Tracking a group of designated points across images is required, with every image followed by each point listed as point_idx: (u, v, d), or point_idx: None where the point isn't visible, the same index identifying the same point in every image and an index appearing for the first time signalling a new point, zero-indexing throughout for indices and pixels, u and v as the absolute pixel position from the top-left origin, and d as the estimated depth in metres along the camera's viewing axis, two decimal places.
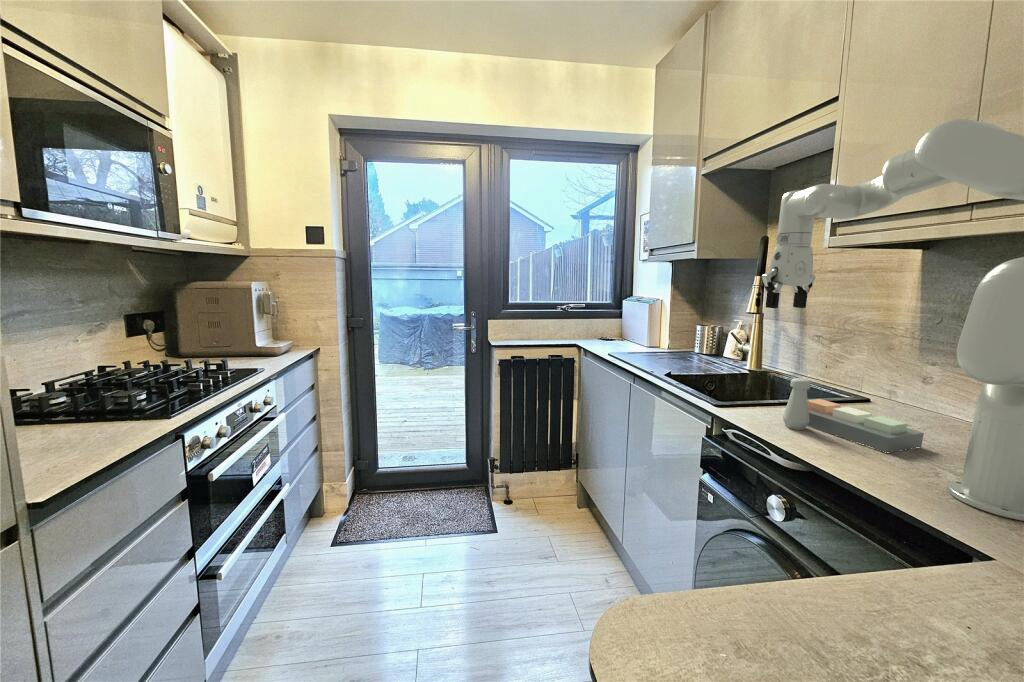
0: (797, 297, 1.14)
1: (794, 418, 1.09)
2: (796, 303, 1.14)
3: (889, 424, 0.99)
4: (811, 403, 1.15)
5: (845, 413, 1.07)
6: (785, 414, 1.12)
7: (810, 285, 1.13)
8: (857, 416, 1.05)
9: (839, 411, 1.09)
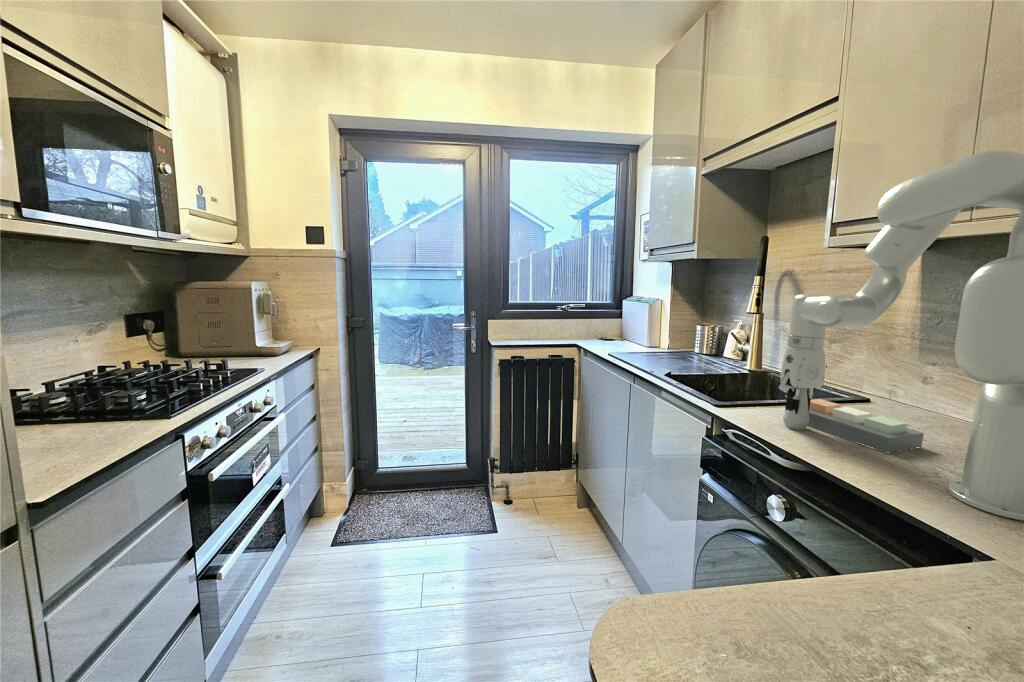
0: None
1: (794, 418, 1.09)
2: None
3: (889, 424, 0.99)
4: (811, 403, 1.15)
5: (845, 413, 1.07)
6: (785, 414, 1.12)
7: (813, 390, 1.11)
8: (857, 416, 1.05)
9: (839, 411, 1.09)
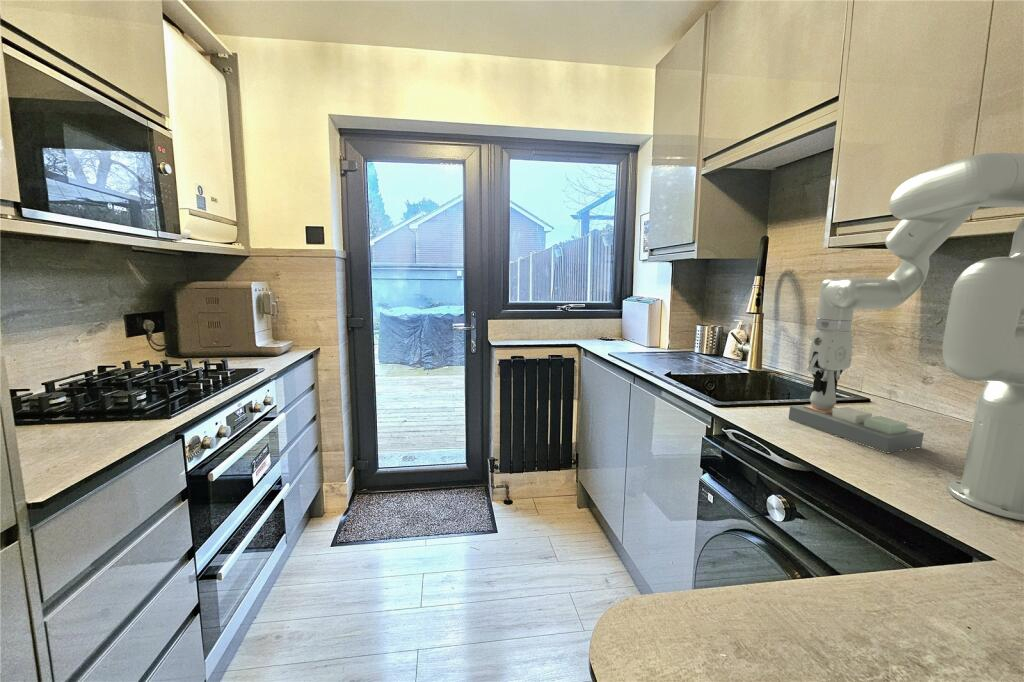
0: None
1: (821, 399, 1.13)
2: None
3: (889, 424, 0.99)
4: (810, 409, 1.16)
5: (845, 413, 1.07)
6: (812, 395, 1.15)
7: (840, 372, 1.14)
8: (857, 416, 1.05)
9: (839, 411, 1.09)
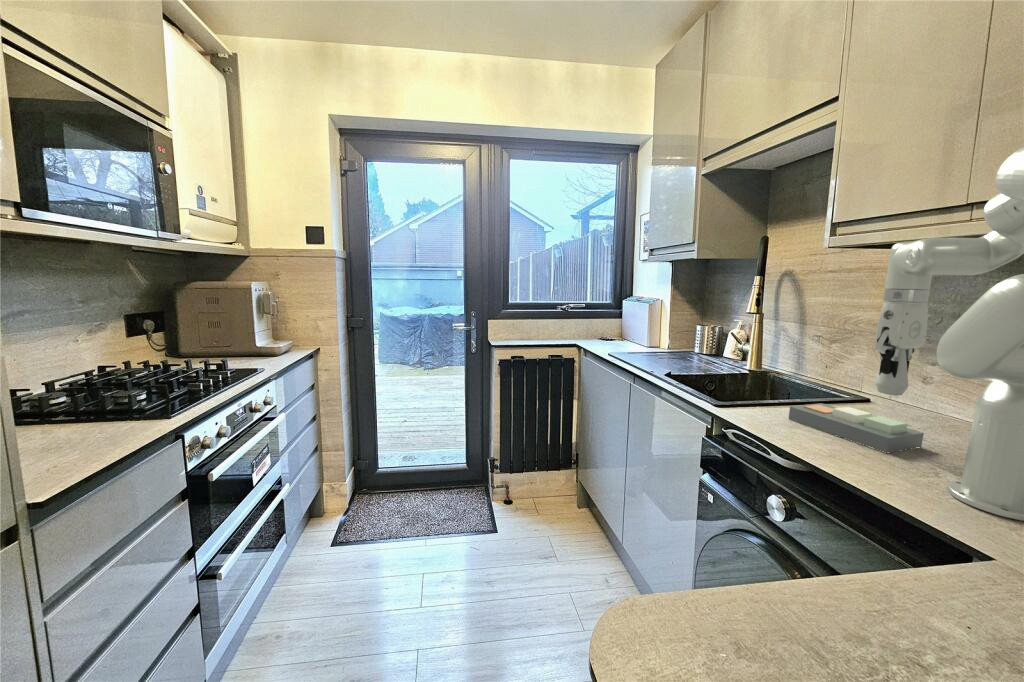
0: None
1: (891, 382, 0.98)
2: None
3: (889, 424, 0.99)
4: (810, 409, 1.16)
5: (845, 413, 1.07)
6: (879, 378, 1.00)
7: (912, 351, 0.99)
8: (857, 416, 1.05)
9: (839, 411, 1.09)
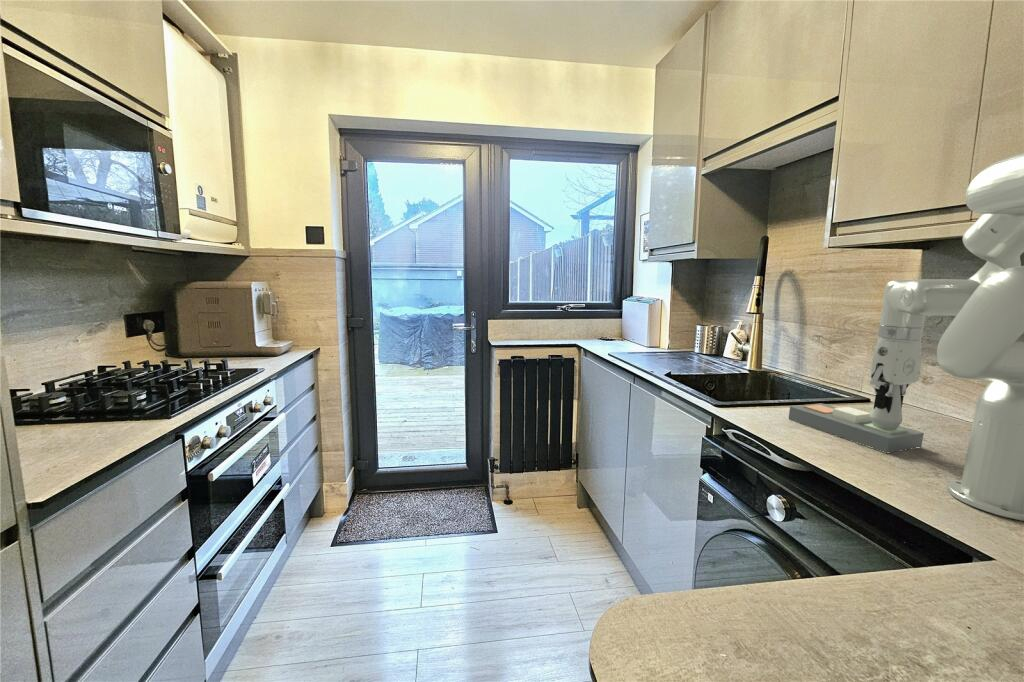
0: None
1: (885, 417, 0.99)
2: None
3: (888, 431, 0.99)
4: (810, 409, 1.16)
5: (845, 413, 1.07)
6: (873, 413, 1.01)
7: (906, 386, 1.00)
8: (857, 416, 1.05)
9: (839, 411, 1.09)
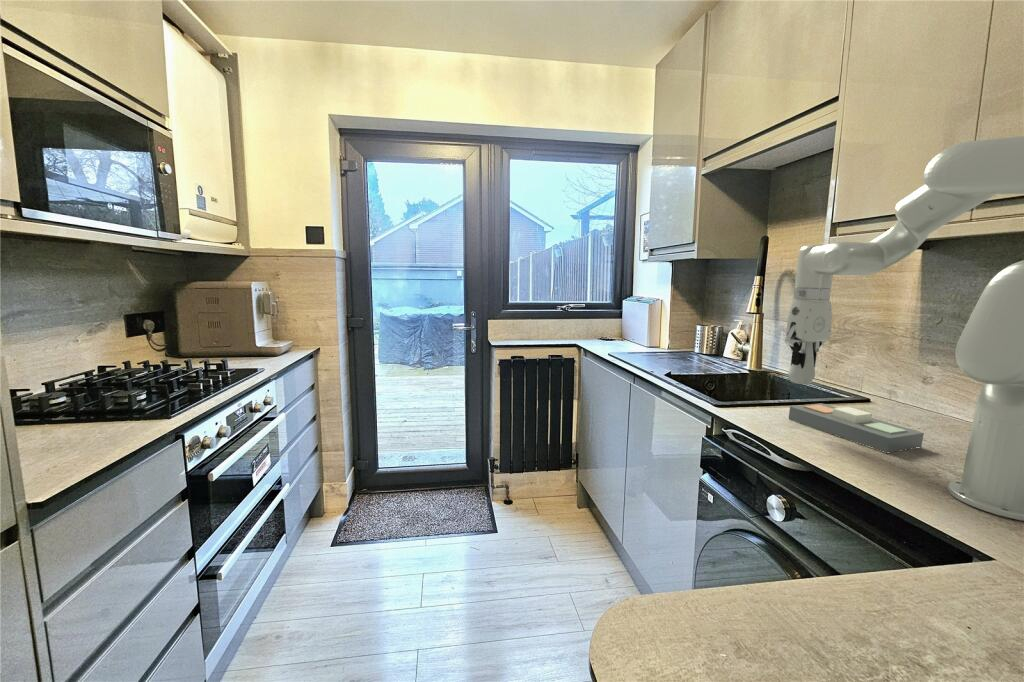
0: None
1: (799, 372, 1.08)
2: None
3: (888, 431, 0.99)
4: (810, 409, 1.16)
5: (845, 413, 1.07)
6: (790, 369, 1.10)
7: (819, 344, 1.09)
8: (857, 416, 1.05)
9: (839, 411, 1.09)
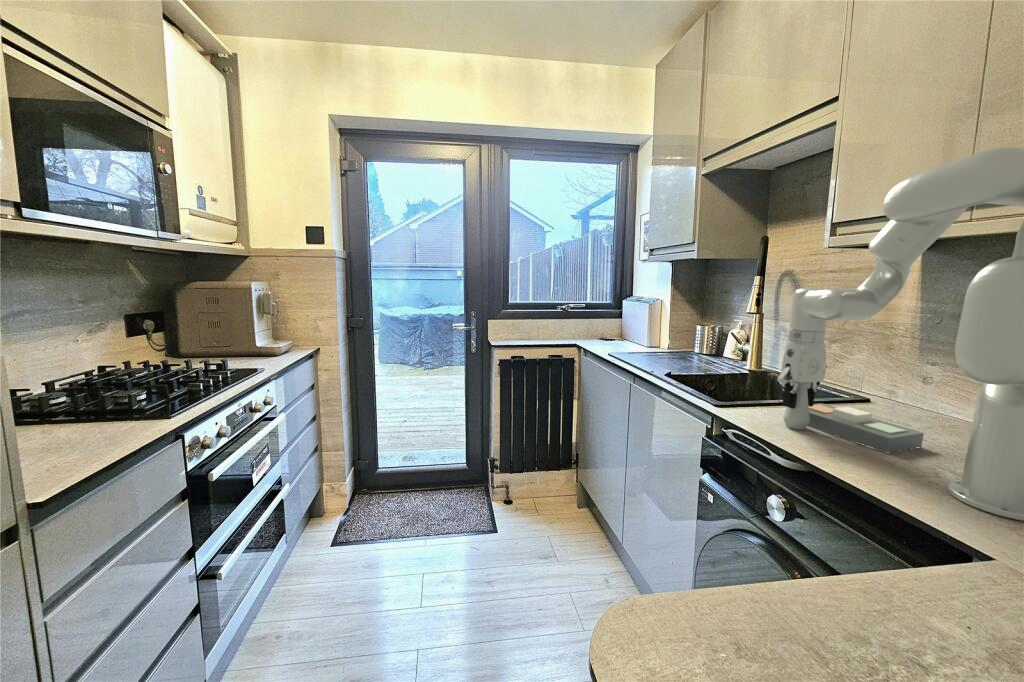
0: None
1: (794, 418, 1.09)
2: None
3: (888, 431, 0.99)
4: (810, 409, 1.16)
5: (845, 413, 1.07)
6: (785, 414, 1.12)
7: (817, 383, 1.11)
8: (857, 416, 1.05)
9: (839, 411, 1.09)
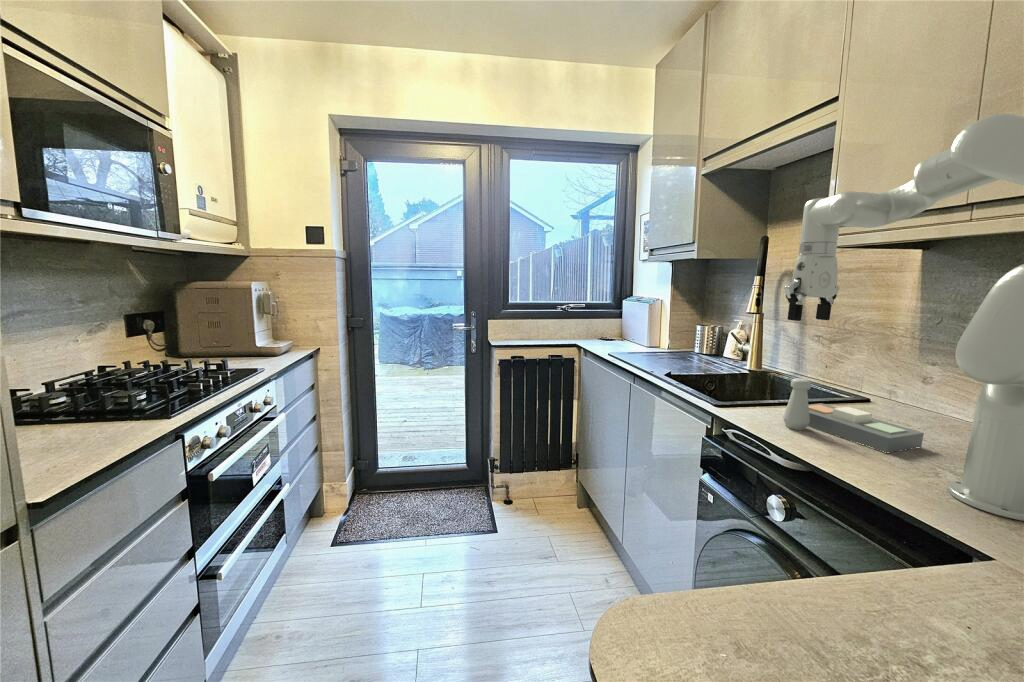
0: (820, 309, 1.09)
1: (794, 419, 1.09)
2: (819, 315, 1.09)
3: (888, 431, 0.99)
4: (810, 409, 1.16)
5: (845, 413, 1.07)
6: (785, 414, 1.12)
7: (834, 296, 1.08)
8: (857, 416, 1.05)
9: (839, 411, 1.09)
